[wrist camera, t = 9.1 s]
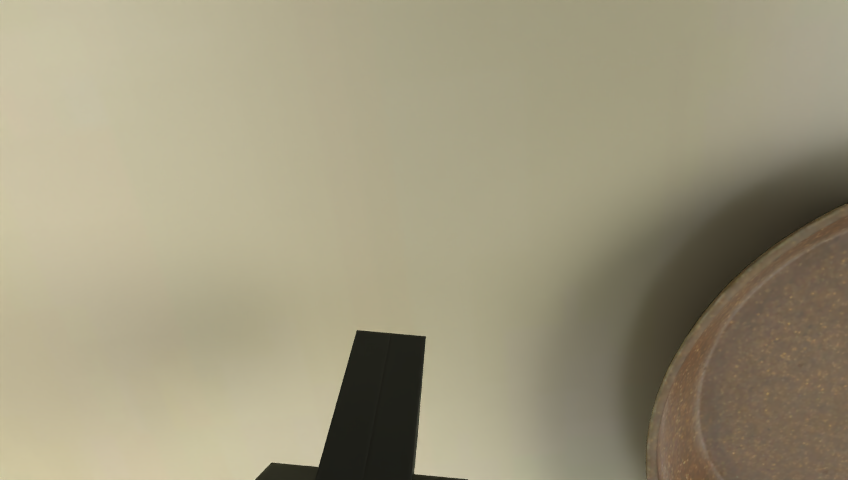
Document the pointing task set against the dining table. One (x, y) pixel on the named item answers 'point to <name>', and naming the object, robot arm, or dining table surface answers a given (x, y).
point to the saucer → (764, 371)
